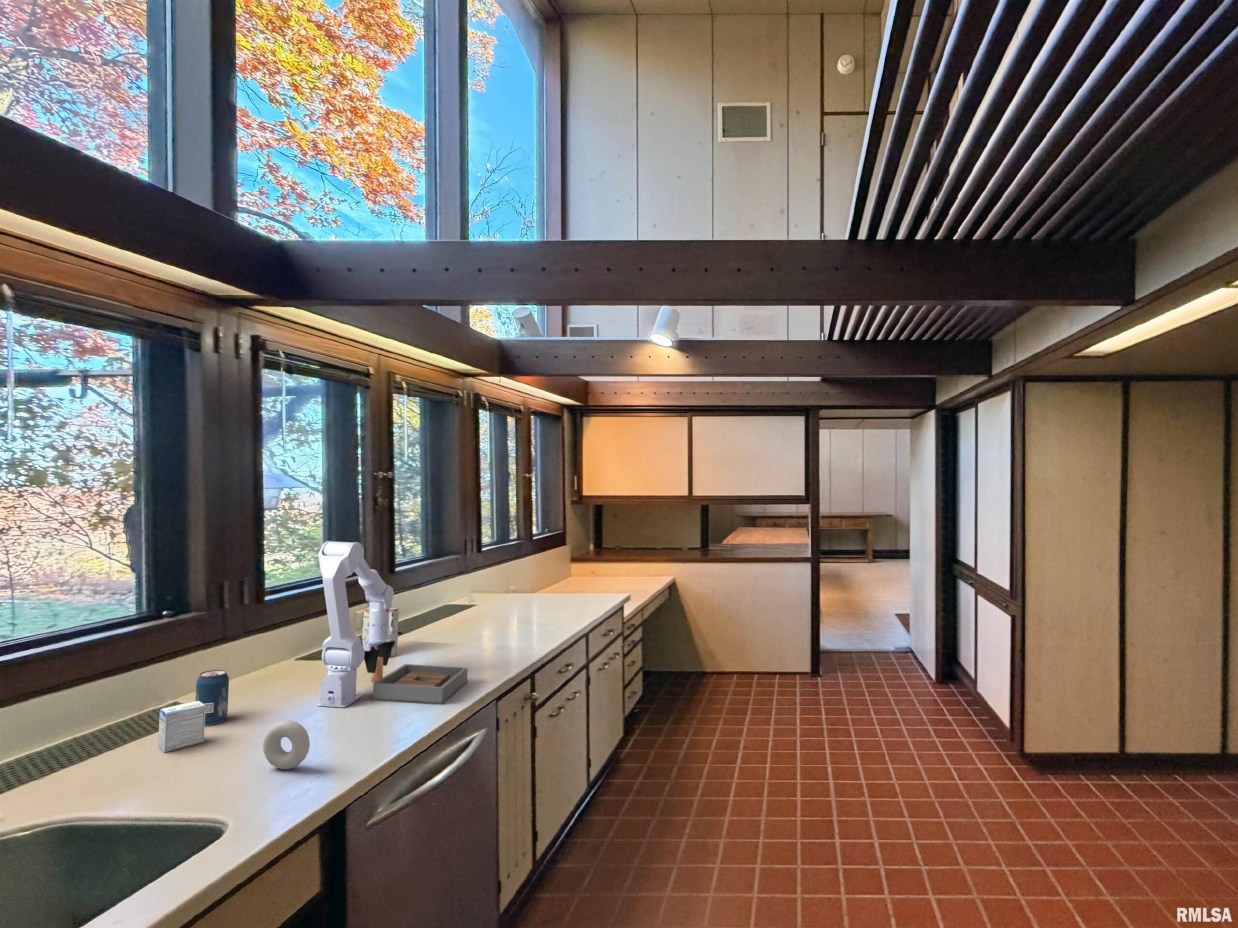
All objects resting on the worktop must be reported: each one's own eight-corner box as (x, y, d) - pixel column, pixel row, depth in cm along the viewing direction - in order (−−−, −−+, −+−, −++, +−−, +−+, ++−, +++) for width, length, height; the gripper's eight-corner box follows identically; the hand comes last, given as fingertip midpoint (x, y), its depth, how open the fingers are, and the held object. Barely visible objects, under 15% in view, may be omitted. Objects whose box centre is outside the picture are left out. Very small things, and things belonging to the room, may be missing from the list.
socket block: (433, 696, 180) (434, 686, 180) (393, 694, 182) (393, 683, 182) (449, 683, 192) (450, 673, 192) (411, 681, 194) (411, 671, 194)
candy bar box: (360, 656, 221) (362, 608, 222) (367, 653, 226) (369, 606, 227) (391, 658, 220) (393, 610, 221) (397, 654, 225) (399, 607, 226)
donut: (312, 766, 136) (314, 719, 137) (302, 774, 133) (304, 725, 133) (269, 763, 138) (271, 715, 138) (257, 770, 134) (260, 721, 134)
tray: (441, 704, 176) (442, 688, 176) (372, 700, 178) (373, 683, 178) (467, 682, 196) (467, 667, 196) (404, 678, 198) (405, 664, 198)
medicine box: (197, 737, 150) (199, 700, 150) (204, 742, 147) (206, 704, 147) (157, 747, 144) (159, 708, 144) (163, 753, 141) (165, 713, 141)
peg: (379, 683, 193) (380, 659, 193) (369, 682, 193) (370, 659, 194) (384, 680, 196) (385, 656, 197) (374, 679, 197) (375, 656, 197)
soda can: (198, 717, 162) (200, 670, 162) (229, 715, 164) (232, 667, 165) (190, 727, 155) (193, 677, 156) (223, 724, 158) (226, 675, 158)
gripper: (379, 629, 188) (378, 676, 187) (402, 619, 202) (400, 662, 202) (357, 628, 189) (355, 675, 188) (380, 618, 203) (379, 661, 203)
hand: (377, 668), depth 195 cm, fingers open, 7 cm apart
